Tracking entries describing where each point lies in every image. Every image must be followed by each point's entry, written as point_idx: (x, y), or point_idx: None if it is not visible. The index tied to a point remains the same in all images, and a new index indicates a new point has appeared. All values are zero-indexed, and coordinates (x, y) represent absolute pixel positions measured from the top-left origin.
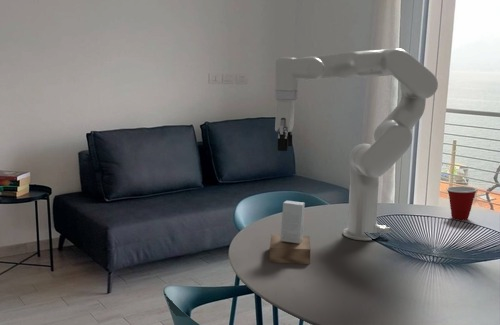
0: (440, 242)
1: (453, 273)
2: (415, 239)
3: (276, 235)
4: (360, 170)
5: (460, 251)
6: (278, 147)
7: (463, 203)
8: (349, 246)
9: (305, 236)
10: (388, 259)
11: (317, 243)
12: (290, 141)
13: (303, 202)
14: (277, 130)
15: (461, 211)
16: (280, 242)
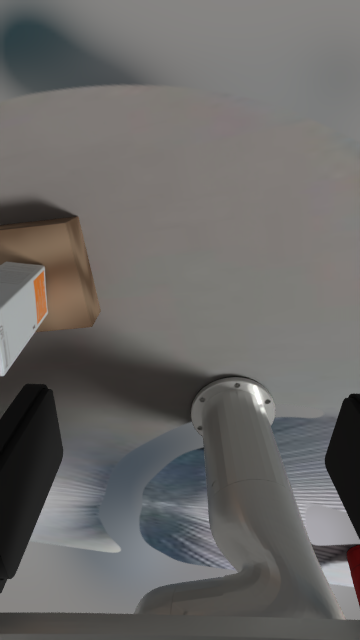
0: None
1: (69, 513)
2: None
3: (63, 239)
4: (158, 599)
5: (172, 531)
6: (14, 409)
7: (357, 593)
8: (149, 388)
9: (85, 317)
10: (97, 445)
11: (151, 326)
12: (348, 497)
13: (1, 373)
14: (152, 616)
15: (352, 572)
16: (9, 259)
